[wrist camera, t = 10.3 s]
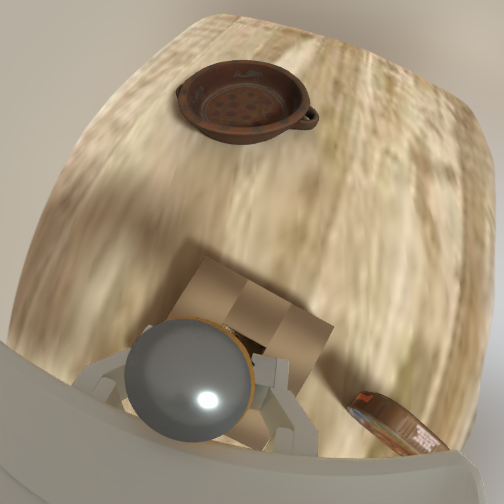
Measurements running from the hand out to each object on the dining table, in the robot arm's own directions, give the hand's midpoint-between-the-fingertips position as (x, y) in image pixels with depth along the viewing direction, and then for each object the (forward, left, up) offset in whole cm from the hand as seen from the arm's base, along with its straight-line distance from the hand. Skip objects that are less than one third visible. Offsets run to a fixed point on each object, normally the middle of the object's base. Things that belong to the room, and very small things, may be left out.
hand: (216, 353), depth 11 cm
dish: (+28, +16, -19) cm, 37 cm away
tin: (-1, -20, -18) cm, 27 cm away
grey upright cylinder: (-1, 0, -6) cm, 6 cm away
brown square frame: (-1, 0, -18) cm, 18 cm away
